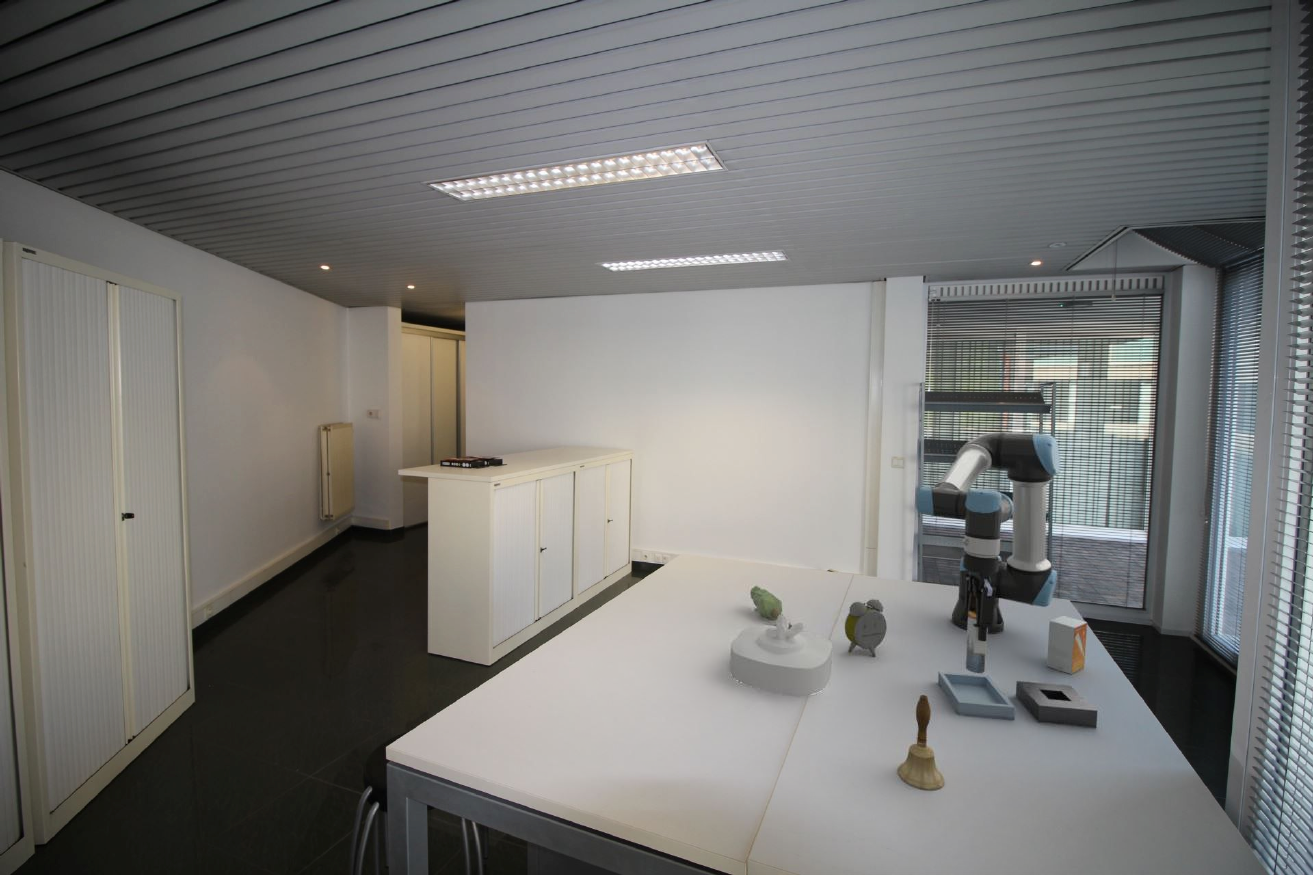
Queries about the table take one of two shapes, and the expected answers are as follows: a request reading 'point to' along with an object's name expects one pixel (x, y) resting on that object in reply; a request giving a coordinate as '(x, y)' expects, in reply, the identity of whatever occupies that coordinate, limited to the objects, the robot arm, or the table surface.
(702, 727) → the table surface
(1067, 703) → the block
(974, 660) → the steel pin
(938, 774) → the hand bell
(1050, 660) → the small box
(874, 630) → the alarm clock
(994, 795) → the table surface
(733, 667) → the tissue box
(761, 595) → the decorative object
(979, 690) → the tray
